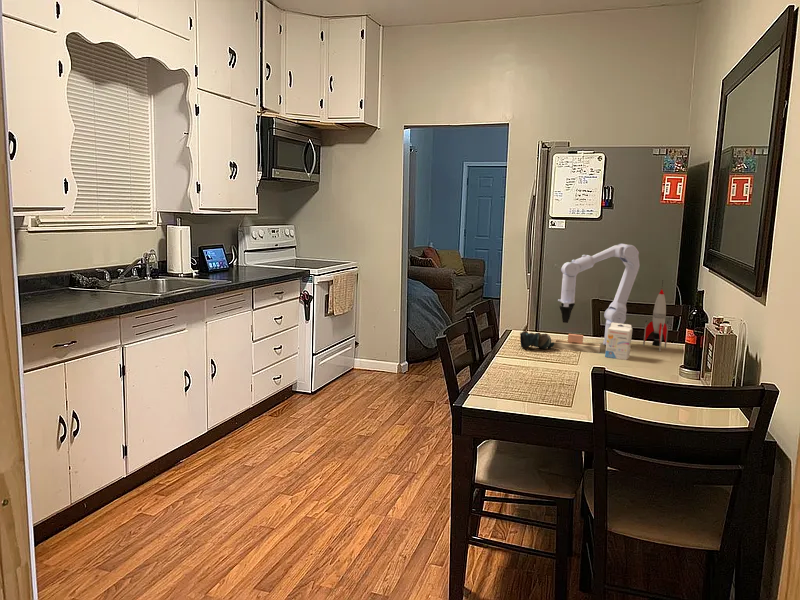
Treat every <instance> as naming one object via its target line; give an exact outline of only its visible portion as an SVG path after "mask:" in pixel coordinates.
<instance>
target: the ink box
mask: <svg viewBox="0 0 800 600" xmlns="http://www.w3.org/2000/svg"><path fill="white" fill-rule="evenodd" d="M618 325H623V326H624V327H620V326H618ZM632 335H633V328H632V324H628V323H623V324H621V323H613V322H612V323H611V326H610V327H609V328H608V333H607V343H606V345H605V352H604V353H605V355H604V357H605V358H611V359H617V360H624V361H625V360H626V361H627V360H628V359H629V358H630V354H631V346H632V345H631V344H632V337H633V336H632Z"/></svg>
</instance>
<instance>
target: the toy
mask: <svg viewBox="0 0 800 600" xmlns="http://www.w3.org/2000/svg"><path fill="white" fill-rule="evenodd" d="M663 284H664V281H662V284H661V286H663ZM654 302H655V303H654V307H653V312H652V320H651V321H650V322H648V324H647V321H648V320H645V324H644V331H643V334H644V335H643V343H642V346H643V347H645V345H646V341H647V339H648V338H649V336H650V335H651V334H652V338H653V339H654V340H653V341H652V344H651V345H652V346H654V347H659V349H658V352H661V351H662V343H663V342H662V341H663V340H664V348H667V343H668V332H669V321H667V324H666V315H667V304H666V302H667V301H666V296H665V292H664V291H663V289H661V290H660V291H659V292H658V294H657V296H656V299H655V301H654Z"/></svg>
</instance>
